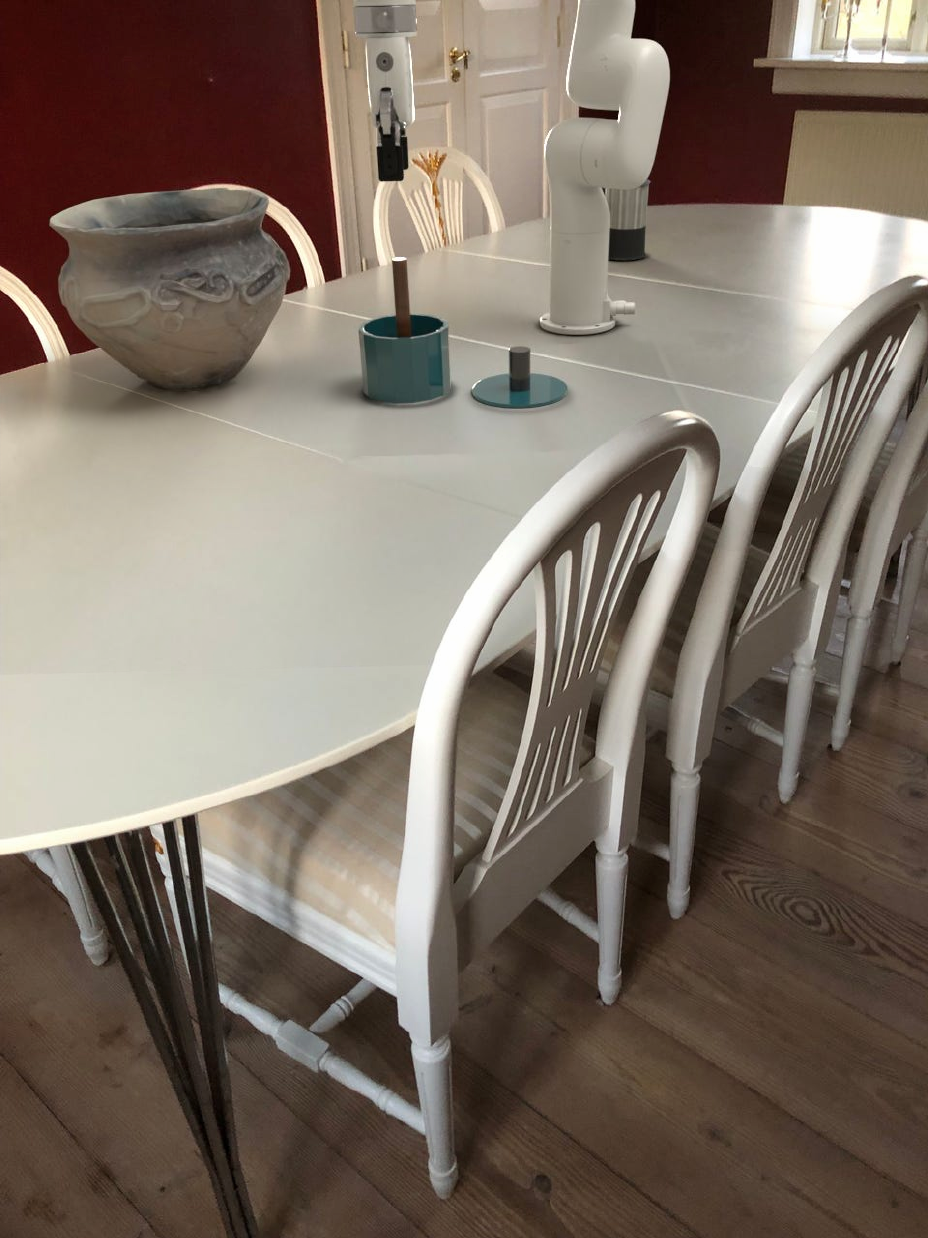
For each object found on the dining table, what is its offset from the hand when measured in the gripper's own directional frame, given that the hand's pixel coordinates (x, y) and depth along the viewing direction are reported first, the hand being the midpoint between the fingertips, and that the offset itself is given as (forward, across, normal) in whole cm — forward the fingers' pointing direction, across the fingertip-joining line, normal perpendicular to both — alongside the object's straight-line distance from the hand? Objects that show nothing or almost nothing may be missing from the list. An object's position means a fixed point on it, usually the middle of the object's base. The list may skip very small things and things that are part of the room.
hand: (394, 174), depth 135 cm
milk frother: (+28, +78, -37) cm, 91 cm away
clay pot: (+29, +8, +33) cm, 45 cm away
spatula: (+28, -1, 0) cm, 28 cm away
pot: (+29, -1, 0) cm, 29 cm away
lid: (+28, -4, -16) cm, 33 cm away
